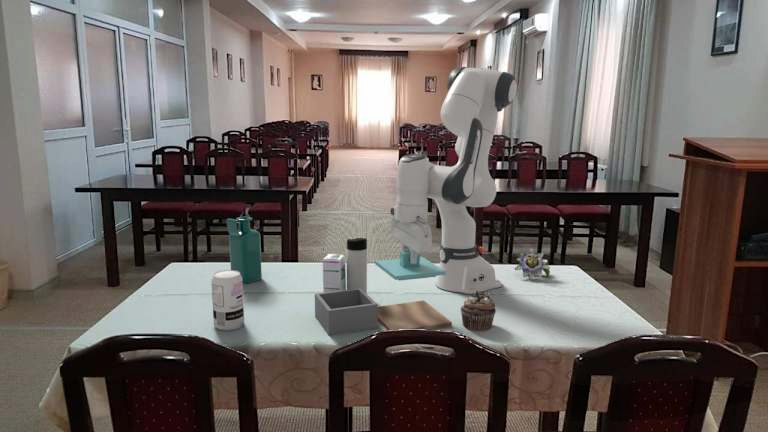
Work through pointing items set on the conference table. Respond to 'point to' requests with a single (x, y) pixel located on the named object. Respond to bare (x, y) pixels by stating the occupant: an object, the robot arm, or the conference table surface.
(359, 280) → the travel mug
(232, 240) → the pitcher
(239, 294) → the supplement can
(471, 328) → the cupcake
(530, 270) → the passion flower
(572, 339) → the conference table surface
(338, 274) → the syrup box
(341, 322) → the storage box
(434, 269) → the lid
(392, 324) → the walnut board
